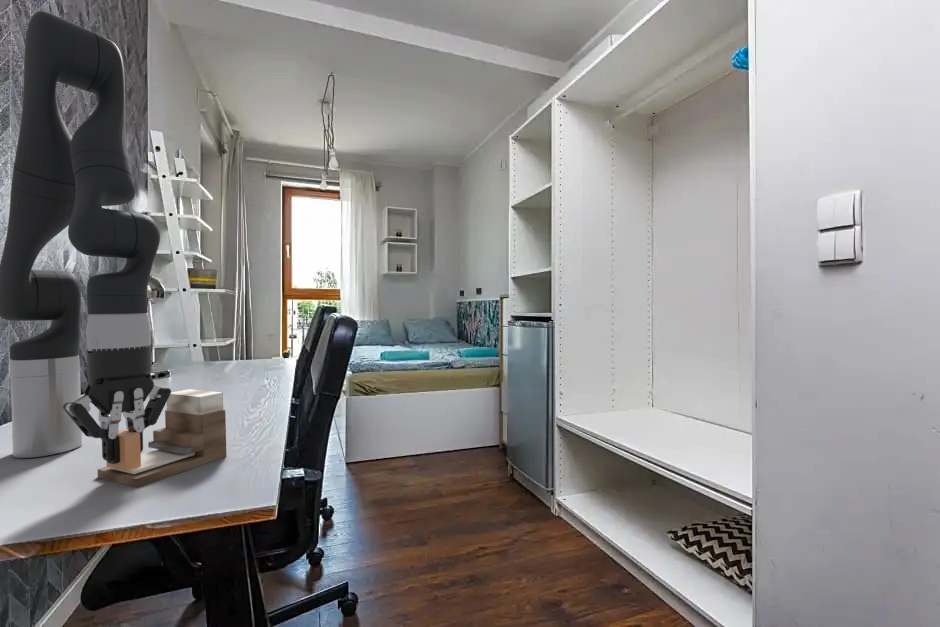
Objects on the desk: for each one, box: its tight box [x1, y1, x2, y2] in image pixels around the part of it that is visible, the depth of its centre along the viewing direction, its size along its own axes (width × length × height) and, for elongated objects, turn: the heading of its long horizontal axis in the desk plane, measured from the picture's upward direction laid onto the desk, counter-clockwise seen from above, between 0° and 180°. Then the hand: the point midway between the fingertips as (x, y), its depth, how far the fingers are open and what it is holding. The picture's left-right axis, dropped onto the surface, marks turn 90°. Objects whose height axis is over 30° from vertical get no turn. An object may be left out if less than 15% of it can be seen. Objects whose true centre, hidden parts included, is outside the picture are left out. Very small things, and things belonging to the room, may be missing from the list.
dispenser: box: [97, 388, 228, 488], centre depth 71 cm, size 10×14×11 cm
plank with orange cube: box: [106, 429, 195, 474], centre depth 69 cm, size 7×10×6 cm
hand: (123, 459), depth 66 cm, fingers closed on plank with orange cube, 2 cm apart
